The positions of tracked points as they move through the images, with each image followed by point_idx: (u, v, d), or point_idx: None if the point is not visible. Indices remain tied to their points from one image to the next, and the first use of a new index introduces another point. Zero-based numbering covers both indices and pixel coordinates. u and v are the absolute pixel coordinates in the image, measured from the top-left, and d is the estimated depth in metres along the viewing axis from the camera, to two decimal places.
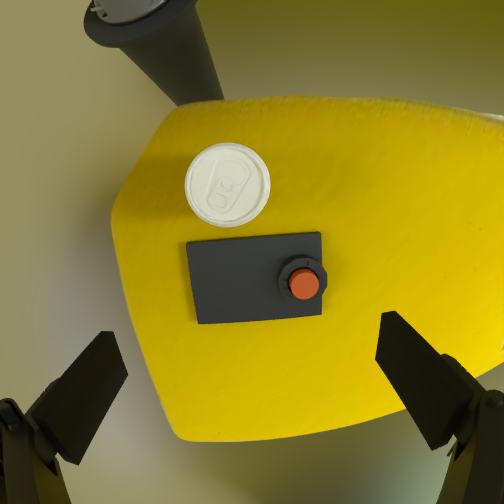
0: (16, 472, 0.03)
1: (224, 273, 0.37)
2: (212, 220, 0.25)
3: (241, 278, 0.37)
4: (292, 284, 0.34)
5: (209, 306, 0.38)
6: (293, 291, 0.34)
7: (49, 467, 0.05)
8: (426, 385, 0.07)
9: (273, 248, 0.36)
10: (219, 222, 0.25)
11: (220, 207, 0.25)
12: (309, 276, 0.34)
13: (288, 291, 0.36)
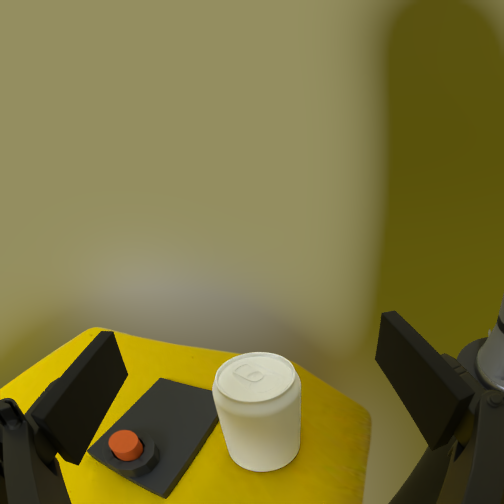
0: (16, 472, 0.03)
1: (185, 409, 0.31)
2: (229, 361, 0.25)
3: (171, 417, 0.30)
4: (133, 433, 0.23)
5: (167, 389, 0.35)
6: (126, 431, 0.23)
7: (49, 467, 0.05)
8: (426, 385, 0.07)
9: (178, 450, 0.24)
10: (224, 364, 0.25)
11: (237, 370, 0.24)
12: (128, 448, 0.21)
13: None
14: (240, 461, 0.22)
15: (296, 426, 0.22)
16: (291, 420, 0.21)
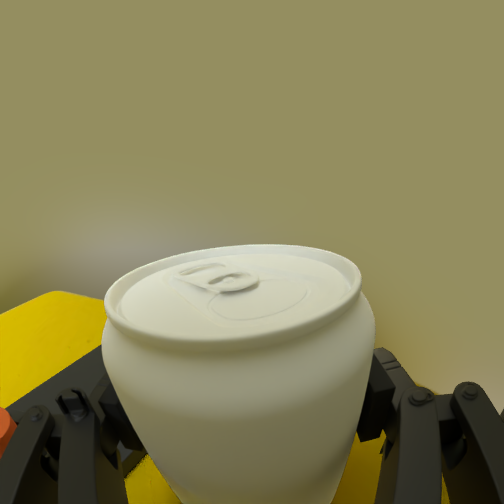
0: (74, 467, 0.04)
1: None
2: (173, 258, 0.10)
3: None
4: (7, 416, 0.08)
5: None
6: (2, 409, 0.09)
7: (109, 459, 0.06)
8: None
9: None
10: (158, 262, 0.10)
11: (187, 274, 0.09)
12: None
13: (14, 419, 0.10)
14: None
15: (350, 446, 0.07)
16: (347, 432, 0.06)
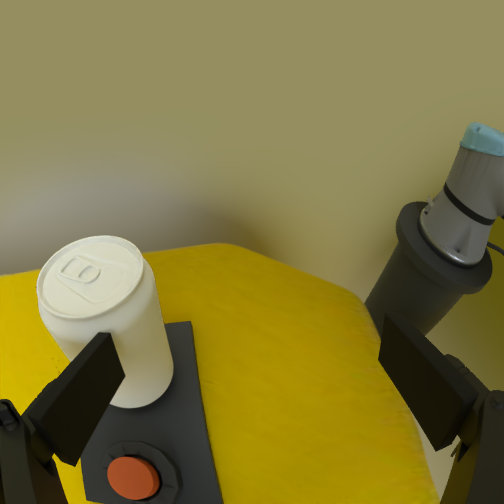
0: (13, 472, 0.03)
1: None
2: (52, 258, 0.14)
3: None
4: (131, 459, 0.14)
5: None
6: (119, 459, 0.13)
7: (46, 468, 0.05)
8: (430, 386, 0.07)
9: (188, 438, 0.18)
10: (46, 264, 0.14)
11: (64, 269, 0.14)
12: (146, 485, 0.12)
13: (120, 454, 0.15)
14: None
15: (162, 337, 0.17)
16: (154, 332, 0.16)
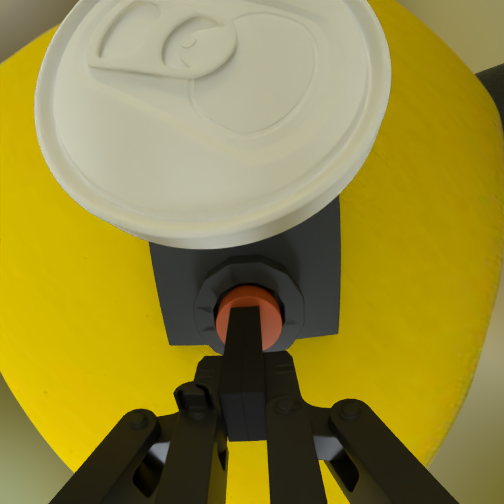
0: (184, 472, 0.05)
1: None
2: (62, 29, 0.03)
3: None
4: (253, 299, 0.14)
5: None
6: (235, 302, 0.14)
7: None
8: None
9: (316, 245, 0.17)
10: (49, 52, 0.03)
11: (105, 43, 0.04)
12: (272, 333, 0.15)
13: (226, 286, 0.15)
14: None
15: None
16: None
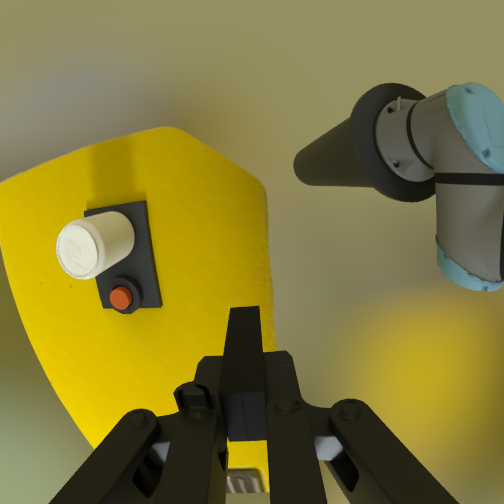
0: (184, 472, 0.05)
1: None
2: (57, 242, 0.30)
3: None
4: (118, 290, 0.40)
5: None
6: (114, 291, 0.40)
7: None
8: None
9: (144, 272, 0.43)
10: (57, 247, 0.30)
11: (65, 247, 0.30)
12: (125, 302, 0.41)
13: (114, 285, 0.42)
14: None
15: (119, 248, 0.36)
16: (112, 256, 0.34)
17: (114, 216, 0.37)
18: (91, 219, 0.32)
